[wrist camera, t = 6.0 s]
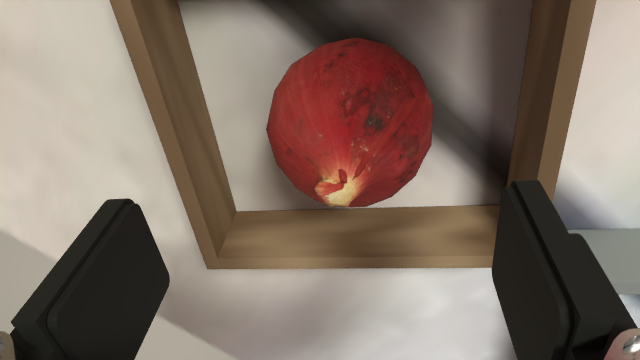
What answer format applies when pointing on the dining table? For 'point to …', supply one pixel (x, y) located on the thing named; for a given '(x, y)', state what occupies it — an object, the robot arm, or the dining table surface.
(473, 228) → the walnut bin
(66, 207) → the dining table surface
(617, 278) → the grey bin
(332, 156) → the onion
